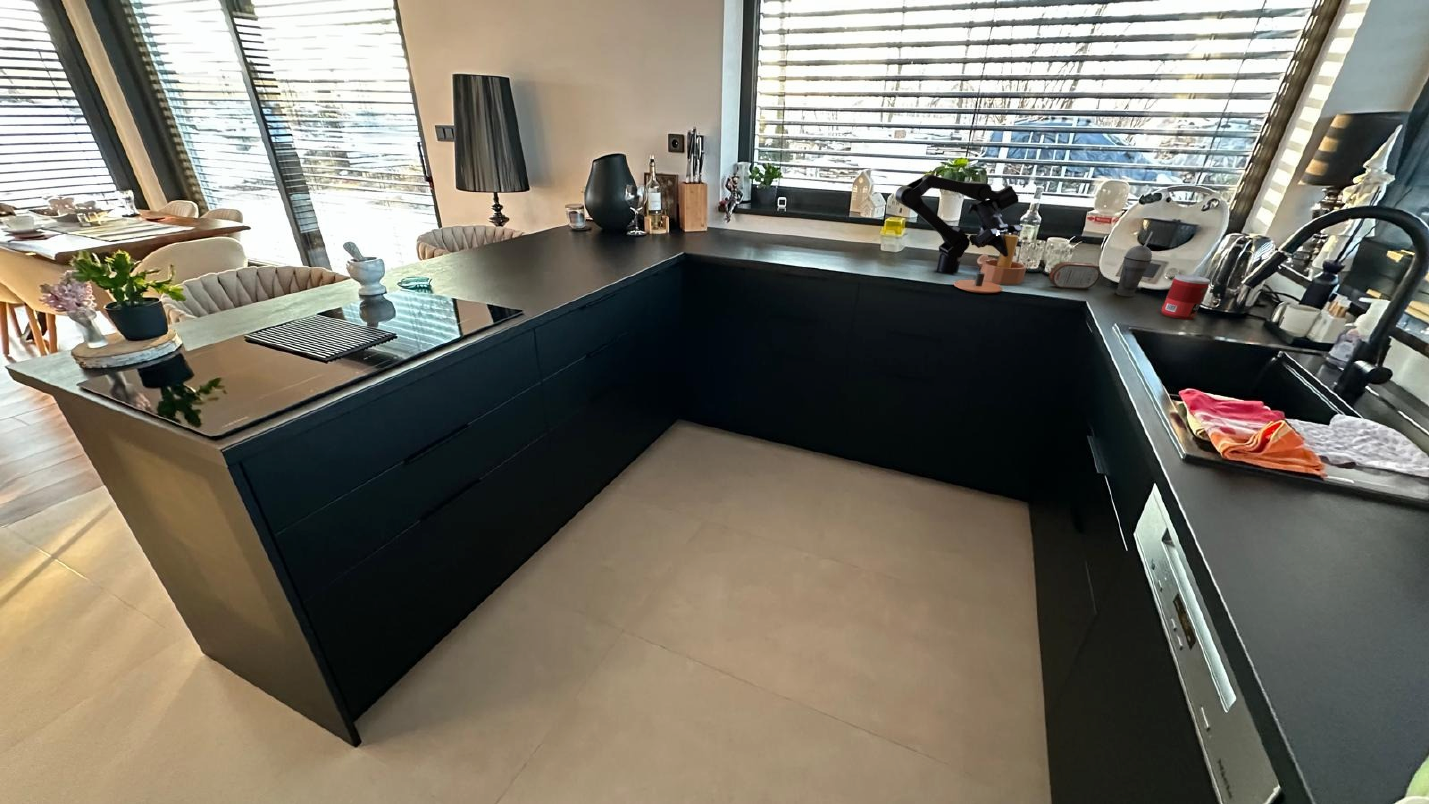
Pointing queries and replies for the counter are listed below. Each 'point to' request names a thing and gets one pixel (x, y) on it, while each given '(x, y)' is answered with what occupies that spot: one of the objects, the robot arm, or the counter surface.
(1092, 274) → the tin
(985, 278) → the pot
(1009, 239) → the eggroll
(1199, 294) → the canned food
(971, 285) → the lid
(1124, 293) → the beverage cup
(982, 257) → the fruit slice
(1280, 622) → the counter surface
